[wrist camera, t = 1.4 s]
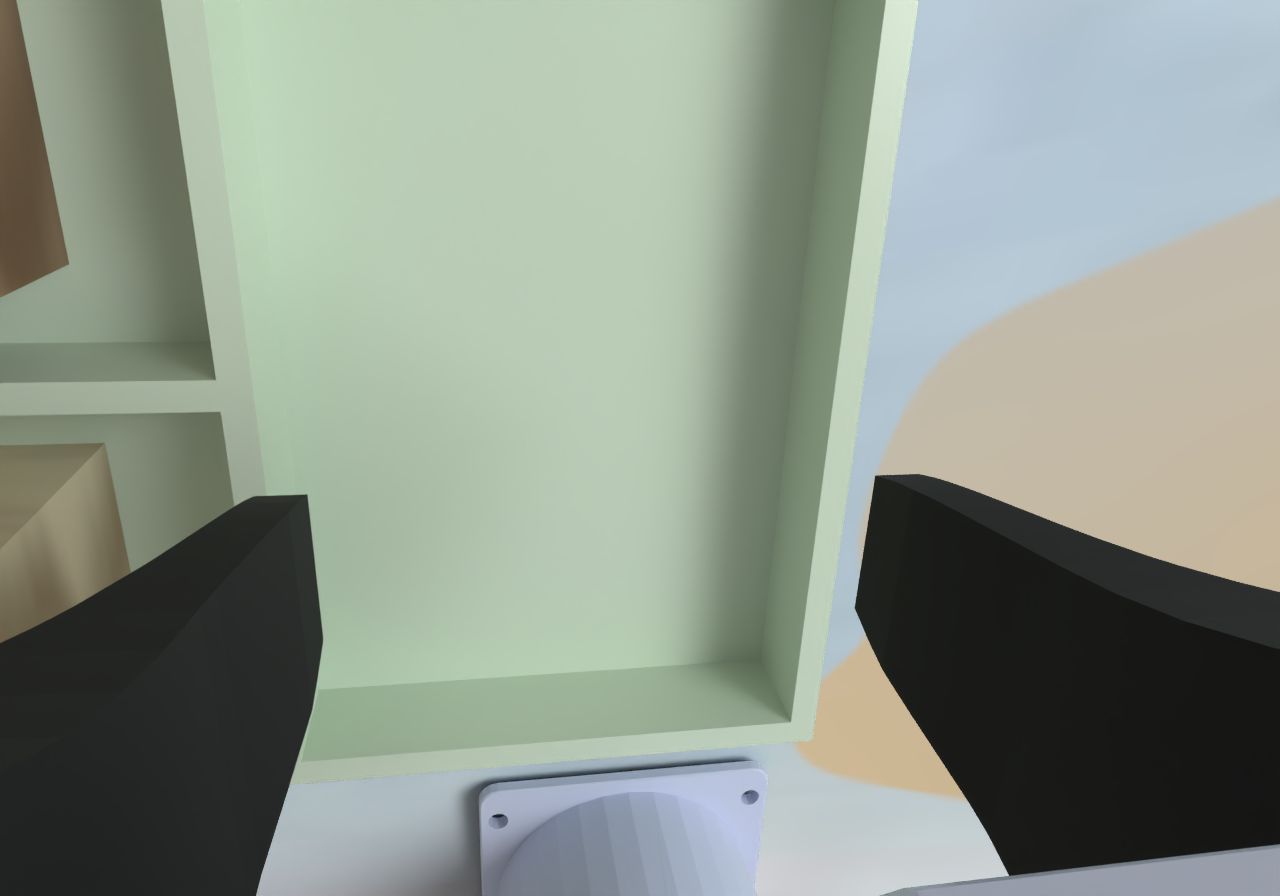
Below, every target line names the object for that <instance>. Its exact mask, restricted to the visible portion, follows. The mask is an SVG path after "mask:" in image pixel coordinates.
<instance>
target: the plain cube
mask: <svg viewBox="0 0 1280 896" xmlns="http://www.w3.org/2000/svg"><path fill="white" fill-rule="evenodd" d="M130 573H131V570H130V565H129V560H128V555H127V550H126V545H125V540H124V535H123V530H122V525H121V520H120V515H119V510H118V505H117V500H116V495H115V490H114V485H113V480H112V475H111V470H110V465H109V460H108V455H107V450H106V445H105V443H82V444H38V445H0V643H1V642H3V641H5V640H8V639H10V638H12V637H14V636H16V635H18V634H20V633H22V632H25V631H27V630H29V629H31V628H33V627H35V626H37V625H39V624H41V623H43V622H45V621H47V620H49V619H51V618H53V617H55V616H56V615H58V614H60V613H62V612H64V611H66V610H68V609H70V608H71V607H73V606H75V605H77V604H79V603H80V602H82V601H84V600H85V599H87V598H89V597H91V596H92V595H94V594H96V593H97V592H99V591H101V590H102V589H104V588H106V587H108V586H109V585H111V584H113V583H114V582H116V581H118V580H119V579H121V578H123V577H125V576H126V575H128V574H130Z"/></svg>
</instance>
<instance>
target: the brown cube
mask: <svg viewBox="0 0 1280 896" xmlns="http://www.w3.org/2000/svg"><path fill="white" fill-rule="evenodd" d="M66 265H69V261H68V256H67V251H66V246H65V241H64V236H63V231H62V226H61V221H60V216H59V211H58V206H57V201H56V196H55V191H54V186H53V181H52V176H51V171H50V166H49V161H48V156H47V151H46V146H45V141H44V136H43V131H42V126H41V121H40V116H39V111H38V106H37V101H36V96H35V91H34V86H33V81H32V76H31V71H30V66H29V61H28V56H27V51H26V46H25V41H24V36H23V31H22V26H21V21H20V16H19V11H18V6H17V1H16V0H0V298H1V297H3V296H5V295H7V294H9V293H11V292H13V291H15V290H17V289H19V288H21V287H23V286H25V285H27V284H29V283H31V282H34V281H36V280H38V279H40V278H42V277H44V276H46V275H48V274H50V273H52V272H54V271H56V270H58V269H60V268H62V267H64V266H66Z"/></svg>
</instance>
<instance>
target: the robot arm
mask: <svg viewBox="0 0 1280 896" xmlns="http://www.w3.org/2000/svg"><path fill="white" fill-rule="evenodd" d="M855 610H856V612H857V614H858V617H859V619H860V621H861V624H862V626H863V628H864V631H865V633H866V636H867V638H868V640H869V642H870V644H871V646H872V649H873V651H874V653H875V655H876V657H877V659H878V661H879V663H880V666H881V667H882V669H883V671H884V673H885V674H886V676H887V677H888V679H889V681H890V682H891V684H892V685H893V687H894V689H895V690H896V692H897V693H898V695H899V696H900V698H901V699H902V701H903V703H904V704H905V706H906V707H907V709H908V710H909V712H910V714H911V715H912V717H913V718H914V720H915V721H916V723H917V724H918V726H919V727H920V729H921V730H922V732H923V733H924V735H925V736H926V738H927V740H928V741H929V743H930V744H931V746H932V747H933V749H934V750H935V752H936V753H937V755H938V756H939V758H940V759H941V761H942V762H943V764H944V765H945V767H946V768H947V770H948V771H949V773H950V774H951V776H952V777H953V779H954V781H955V782H956V784H957V785H958V786H959V788H960V790H961V791H962V792H963V794H964V796H965V797H966V799H967V800H968V802H969V803H970V805H971V807H972V808H973V810H974V812H975V813H976V815H977V817H978V818H979V820H980V822H981V823H982V825H983V827H984V829H985V830H986V832H987V834H988V835H989V837H990V839H991V841H992V843H993V845H994V847H995V849H996V851H997V853H998V855H999V857H1000V859H1001V861H1002V862H1003V864H1004V866H1005V868H1006V870H1007V872H1008V874H1009V876H1005V877H996V878H988V879H979V880H971V881H962V882H954V883H945V884H937V885H928V886H919V887H911V888H903V889H900V890H897V891H894V892H890V893H887V894H884V895H881V896H1280V592H1276V591H1272V590H1268V589H1264V588H1260V587H1256V586H1252V585H1248V584H1243V583H1240V582H1236V581H1232V580H1229V579H1225V578H1221V577H1218V576H1214V575H1211V574H1207V573H1204V572H1200V571H1196V570H1193V569H1189V568H1186V567H1182V566H1178V565H1175V564H1172V563H1169V562H1166V561H1162V560H1159V559H1156V558H1153V557H1150V556H1146V555H1143V554H1141V553H1138V552H1135V551H1132V550H1129V549H1126V548H1124V547H1121V546H1118V545H1115V544H1112V543H1109V542H1106V541H1103V540H1100V539H1098V538H1095V537H1092V536H1090V535H1087V534H1084V533H1081V532H1079V531H1076V530H1073V529H1071V528H1068V527H1065V526H1063V525H1060V524H1057V523H1055V522H1052V521H1050V520H1047V519H1045V518H1042V517H1040V516H1037V515H1035V514H1032V513H1029V512H1027V511H1024V510H1022V509H1019V508H1017V507H1014V506H1012V505H1009V504H1007V503H1004V502H1002V501H999V500H996V499H994V498H991V497H989V496H986V495H983V494H981V493H978V492H976V491H973V490H970V489H967V488H965V487H962V486H959V485H956V484H953V483H950V482H947V481H944V480H941V479H937V478H934V477H929V476H925V475H920V474H910V475H880V476H875V482H874V488H873V494H872V501H871V507H870V514H869V520H868V527H867V533H866V539H865V546H864V552H863V559H862V565H861V571H860V578H859V584H858V591H857V597H856V604H855ZM322 646H323V631H322V622H321V613H320V604H319V595H318V586H317V577H316V567H315V558H314V549H313V540H312V531H311V522H310V513H309V504H308V495H307V494H305V495H275V496H253V497H251V498H249V499H247V500H245V501H243V502H241V503H239V504H238V505H236V506H234V507H233V508H231V509H229V510H228V511H226V512H225V513H223V514H222V515H220V516H219V517H217V518H215V519H214V520H212V521H211V522H209V523H208V524H206V525H205V526H203V527H202V528H200V529H199V530H197V531H196V532H194V533H193V534H191V535H190V536H188V537H187V538H185V539H184V540H182V541H180V542H179V543H177V544H176V545H174V546H173V547H171V548H170V549H168V550H167V551H165V552H164V553H162V554H161V555H159V556H157V557H156V558H154V559H153V560H151V561H150V562H148V563H147V564H145V565H143V566H142V567H140V568H138V569H136V570H135V571H133V572H131V573H130V574H128V575H126V576H125V577H123V578H121V579H119V580H118V581H116V582H114V583H113V584H111V585H109V586H108V587H106V588H104V589H102V590H101V591H99V592H97V593H96V594H94V595H92V596H91V597H89V598H87V599H85V600H84V601H82V602H80V603H79V604H77V605H75V606H73V607H71V608H70V609H68V610H66V611H64V612H62V613H60V614H58V615H56V616H55V617H53V618H51V619H49V620H47V621H45V622H43V623H41V624H39V625H37V626H35V627H33V628H31V629H29V630H27V631H25V632H22V633H20V634H18V635H16V636H14V637H12V638H10V639H8V640H5V641H3V642H1V643H0V896H256V893H257V889H258V885H259V882H260V878H261V874H262V871H263V868H264V864H265V861H266V858H267V855H268V852H269V848H270V845H271V842H272V839H273V836H274V833H275V829H276V826H277V823H278V820H279V817H280V813H281V810H282V807H283V804H284V801H285V797H286V794H287V791H288V788H289V785H290V782H291V778H292V775H293V772H294V769H295V766H296V762H297V759H298V756H299V753H300V749H301V746H302V743H303V739H304V736H305V733H306V730H307V726H308V723H309V719H310V716H311V713H312V709H313V703H314V697H315V691H316V685H317V680H318V673H319V666H320V659H321V653H322ZM767 786H768V776H767V773H766V771H765V768H764V767H763V766H762V764H761V763H759V762H757V761H741V762H730V763H718V764H707V765H696V766H684V767H673V768H662V769H650V770H639V771H628V772H616V773H605V774H594V775H582V776H571V777H560V778H548V779H537V780H526V781H514V782H503V783H495V784H491V785H489V786H487V787H486V788H484V789H483V790H482V792H481V793H480V796H479V825H480V854H481V883H482V896H757V893H756V890H755V883H756V875H757V867H758V859H759V851H760V842H761V834H762V826H763V818H764V810H765V802H766V794H767ZM749 790H753V791H752V792H751V793H749V794H744V793H745V792H746V791H749ZM496 814H504V816H503V817H500V818H494V817H492V816H493V815H496Z"/></svg>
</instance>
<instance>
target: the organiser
mask: <svg viewBox="0 0 1280 896" xmlns="http://www.w3.org/2000/svg"><path fill="white" fill-rule="evenodd" d="M16 1H17V6H18V11H19V16H20V21H21V26H22V31H23V36H24V41H25V46H26V51H27V56H28V61H29V66H30V71H31V76H32V81H33V86H34V91H35V96H36V101H37V106H38V111H39V116H40V121H41V126H42V131H43V136H44V141H45V146H46V151H47V156H48V161H49V166H50V171H51V176H52V181H53V186H54V191H55V196H56V201H57V206H58V211H59V216H60V221H61V226H62V231H63V236H64V241H65V246H66V251H67V256H68V261H69V265H66V266H64V267H62V268H60V269H58V270H56V271H54V272H52V273H50V274H48V275H46V276H44V277H42V278H40V279H38V280H36V281H34V282H31V283H29V284H27V285H25V286H23V287H21V288H19V289H17V290H15V291H13V292H11V293H9V294H7V295H5V296H3V297H1V298H0V445H38V444H82V443H105V445H106V450H107V455H108V460H109V465H110V470H111V475H112V480H113V485H114V490H115V495H116V500H117V505H118V510H119V515H120V520H121V525H122V530H123V535H124V540H125V545H126V550H127V555H128V560H129V565H130V570H131V572H133V571H135V570H136V569H138V568H140V567H142V566H143V565H145V564H147V563H148V562H150V561H151V560H153V559H154V558H156V557H157V556H159V555H161V554H162V553H164V552H165V551H167V550H168V549H170V548H171V547H173V546H174V545H176V544H177V543H179V542H180V541H182V540H184V539H185V538H187V537H188V536H190V535H191V534H193V533H194V532H196V531H197V530H199V529H200V528H202V527H203V526H205V525H206V524H208V523H209V522H211V521H212V520H214V519H215V518H217V517H219V516H220V515H222V514H223V513H225V512H226V511H228V510H229V509H231V508H233V507H234V506H236V505H238V504H239V503H241V502H243V501H245V500H247V499H249V498H251V497H253V496H275V495H305V494H307V495H308V504H309V513H310V522H311V531H312V540H313V549H314V558H315V567H316V577H317V586H318V595H319V604H320V613H321V622H322V631H323V646H322V653H321V659H320V666H319V673H318V680H317V685H316V691H315V697H314V703H313V709H312V713H311V716H310V719H309V723H308V726H307V730H306V733H305V736H304V739H303V743H302V746H301V749H300V753H299V756H298V759H297V762H296V766H295V769H294V772H293V775H292V778H291V782H290V785H295V784H307V783H319V782H330V781H342V780H354V779H366V778H377V777H389V776H401V775H412V774H424V773H436V772H448V771H459V770H471V769H483V768H495V767H506V766H518V765H530V764H541V763H553V762H565V761H577V760H588V759H600V758H612V757H623V756H635V755H647V754H659V753H670V752H682V751H694V750H706V749H717V748H729V747H741V746H752V745H764V744H776V743H788V742H799V741H811V740H812V738H813V731H814V724H815V717H816V710H817V703H818V696H819V689H820V682H821V676H822V669H823V662H824V655H825V648H826V641H827V634H828V627H829V620H830V613H831V606H832V599H833V592H834V585H835V578H836V571H837V564H838V557H839V550H840V544H841V537H842V530H843V523H844V516H845V509H846V502H847V495H848V488H849V481H850V474H851V467H852V460H853V453H854V446H855V439H856V432H857V425H858V418H859V412H860V405H861V398H862V391H863V384H864V377H865V370H866V363H867V356H868V349H869V342H870V335H871V328H872V321H873V314H874V307H875V300H876V293H877V286H878V280H879V273H880V266H881V259H882V252H883V245H884V238H885V231H886V224H887V217H888V210H889V203H890V196H891V189H892V182H893V175H894V168H895V161H896V155H897V148H898V141H899V134H900V127H901V120H902V113H903V106H904V99H905V92H906V85H907V78H908V71H909V64H910V57H911V50H912V43H913V36H914V29H915V23H916V16H917V9H918V2H919V0H16Z"/></svg>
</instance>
